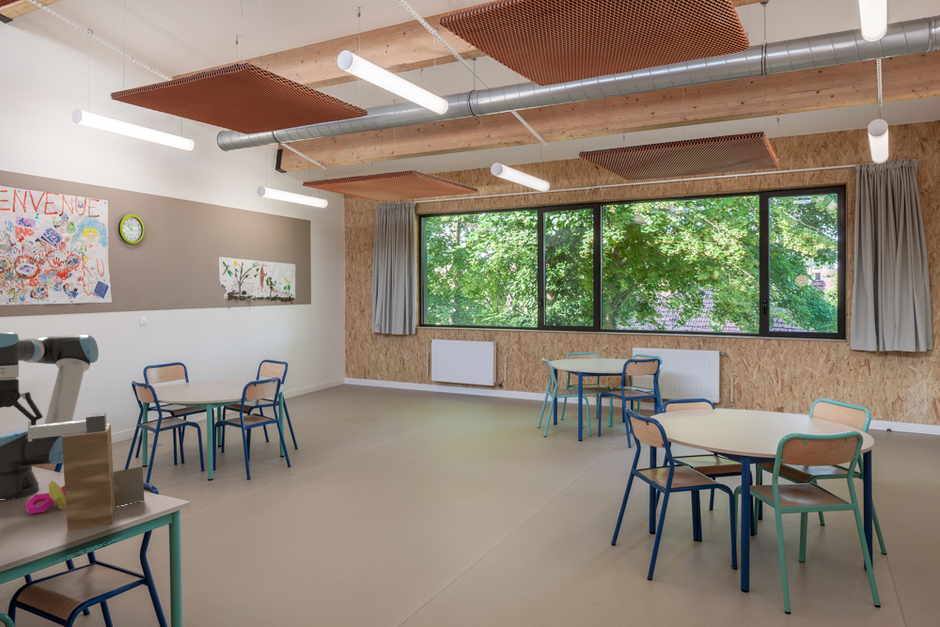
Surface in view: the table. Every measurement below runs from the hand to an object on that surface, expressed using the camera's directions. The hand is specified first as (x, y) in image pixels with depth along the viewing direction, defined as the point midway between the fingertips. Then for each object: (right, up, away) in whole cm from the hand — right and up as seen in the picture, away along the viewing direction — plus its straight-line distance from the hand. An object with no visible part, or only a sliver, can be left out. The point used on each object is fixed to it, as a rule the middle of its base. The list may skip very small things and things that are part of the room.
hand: (4, 443), depth 195 cm
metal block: (+27, +5, -8) cm, 29 cm away
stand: (+30, -25, -2) cm, 39 cm away
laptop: (+27, -25, +14) cm, 39 cm away
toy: (+10, -25, +11) cm, 29 cm away
